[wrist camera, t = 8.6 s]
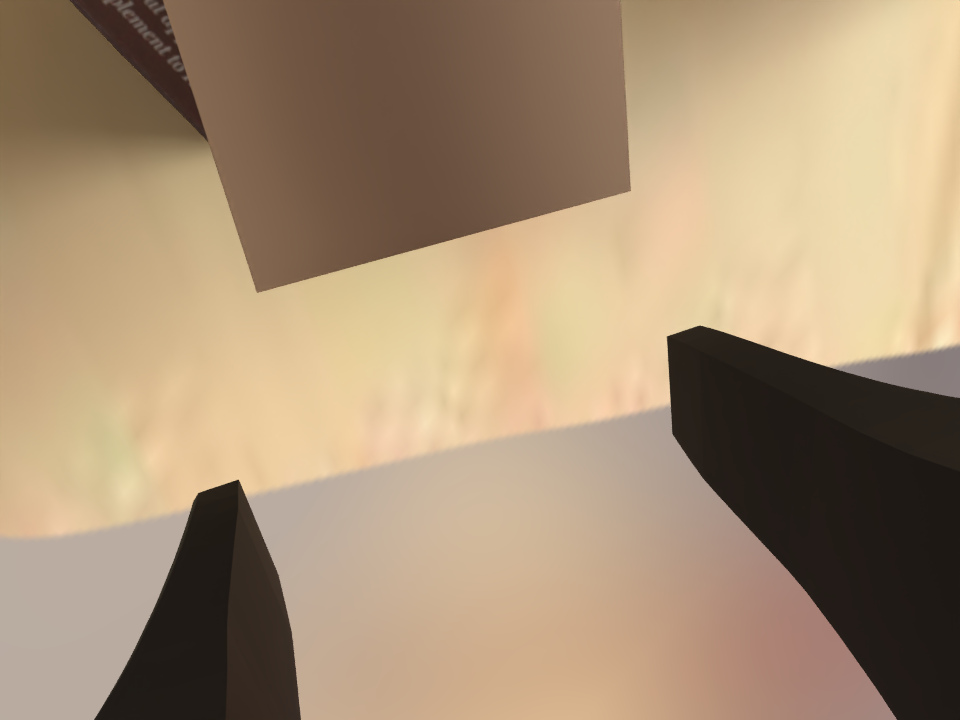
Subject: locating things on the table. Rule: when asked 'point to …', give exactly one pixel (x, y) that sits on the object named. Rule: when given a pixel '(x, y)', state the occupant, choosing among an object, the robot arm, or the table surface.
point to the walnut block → (401, 119)
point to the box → (146, 47)
